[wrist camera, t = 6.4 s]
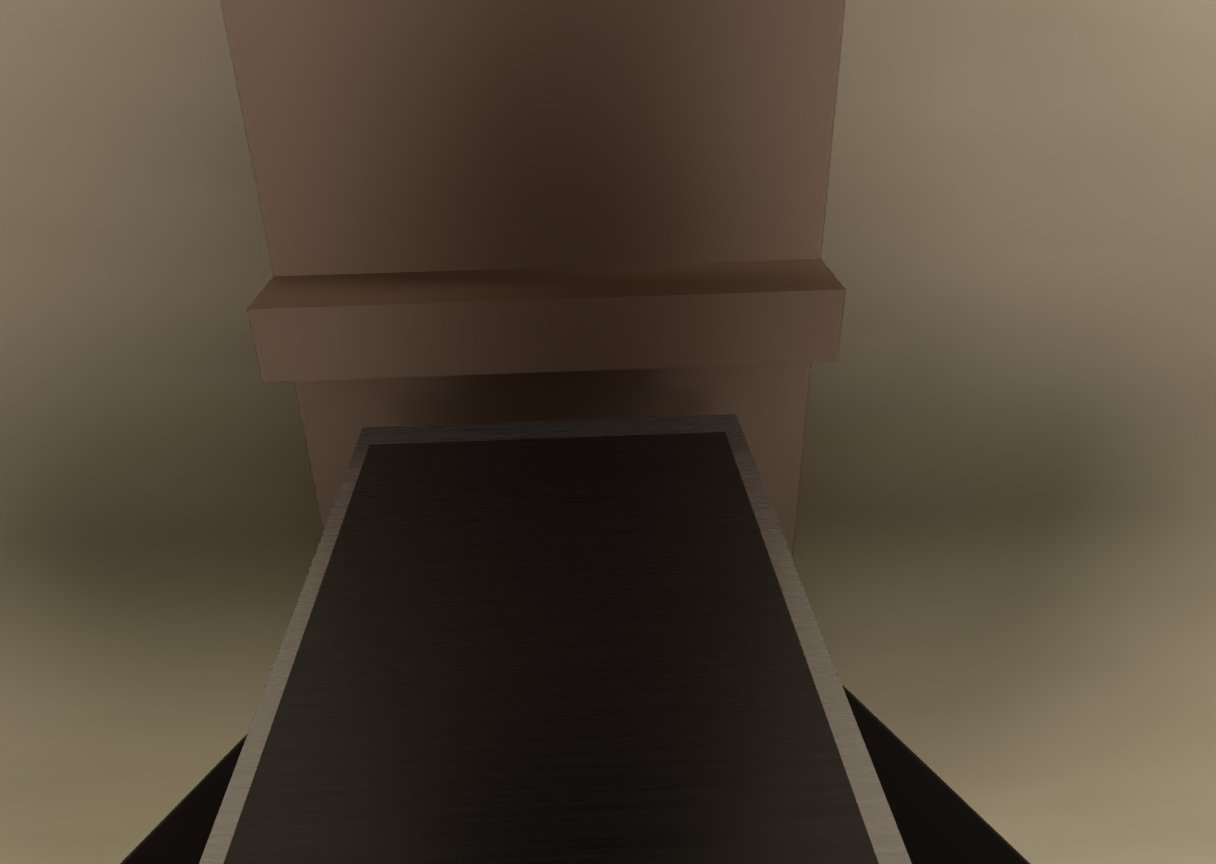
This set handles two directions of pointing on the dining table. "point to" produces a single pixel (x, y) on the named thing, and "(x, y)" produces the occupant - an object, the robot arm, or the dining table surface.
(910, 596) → the dining table surface
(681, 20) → the rail
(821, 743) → the block
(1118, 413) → the dining table surface
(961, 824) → the robot arm
